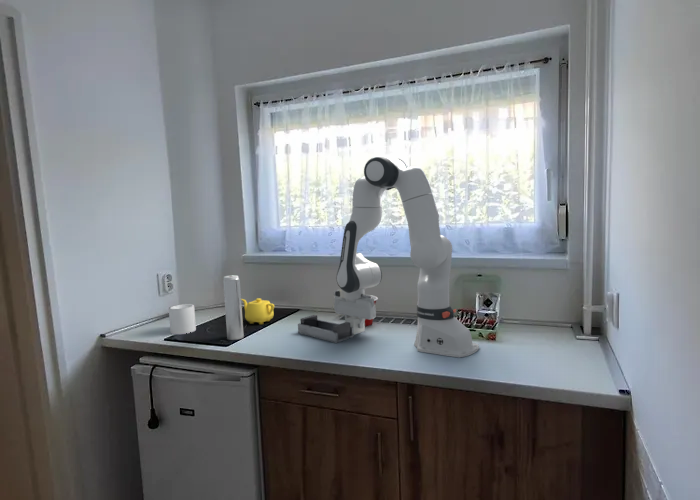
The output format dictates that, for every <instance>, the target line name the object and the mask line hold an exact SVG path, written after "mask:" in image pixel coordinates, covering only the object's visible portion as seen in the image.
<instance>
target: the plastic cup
mask: <svg viewBox="0 0 700 500" xmlns="http://www.w3.org/2000/svg"><path fill="white" fill-rule="evenodd" d="M369 295H370V296H371V297H372V298H373V299H374V304H375V305H376V303H377V301H378V299H379V298H378V297H377V296H375V295H371V294H369ZM373 322H374V318H373V319H370V320H369V319H365V327H367V326H368V327H369V326H373Z"/></svg>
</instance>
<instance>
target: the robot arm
mask: <svg viewBox="0 0 700 500" xmlns="http://www.w3.org/2000/svg"><path fill="white" fill-rule="evenodd" d="M393 189H396V190H397V191H398V193H399V196H400V199H401V203H402V207H403V211H404V215H405V218H406V223H407V227H408V236H409V237H408V238H409V244H410V245H409V246H410V252H409V253H410V255H409V257H410V260H411V262H412V264H414V266H415V267H416V268H418V269H419V275H418V280H417V287H416V288H417V305H416V317H417V327H416V329H417V330H416V334H415V335H416V336H415V340H414V344H413V345H414V347H416V348H417V349H416V350H417V351H418V352H419V353H420V352H421V353H427V354H433V355H434V354H435V355H439V356H447V357H453V358H464V357H468V356H471V355H473V354H475V353H476V352H478V351H479V350H480V345H479V344H478V343H477V342H476V343H475V342H473V338H472V334H471V331H470V329H469V328H468V327H466V326H465V325H464V324H463V323H462V322H461V321H460V320H459V319H457V318H456V317H455V314H454V313H457V308H455V309H453V308H452V305H450V277H451V272H452V271H451V269H452V257H453V255H452V254H453V245H452V242H451V240H450V239H448V238H447V237H446V236H445V235H443V234H441V229H440V228H441V227H440V219H439V218H440V216H439V215H440V214H439V211H438V208H437V207H438V206H437V205H436V204H437V203H436V200H435V196H434V193H433V190H432V187H431V185H430V181H429V179H428V177H427V174H426V173H425V171H424V170H423V169H422V168H421V167H418V166H410V167H408V165H407V162H404V160H402V159H400V158H397V157H393V156H389V155H377V156H373V157H371V158H369V159H368V160H367V161H366V163H365V165H364V167H363V176H361V177H359V178H357V180H356V181H355V182H354V186H353V192H352V201H351V202H352V206H351V207H352V209H351V215H350V218H349V221H348V222H347V223H346V225H345V227H344V230H343V236H342V244H341V250H340V251H341V252H340V257H339V266H338V269H337V272H336V277H335V279H336V284H337V286H338V287H339V289H337V290H334V291H333V297H334V298H333V309H334V310H333V311H334V312H335V313H336V314H339V315H344V319H345V318H348V317H351V316H354V317H359V320H360V323H359V324H358V328H363V323H364V321H365V319H369V320H370V319H373V320H374V319H375V318H376V316H377V309H376V304H374V299H373V298H372V297H371V296H370V295H371V294H366V292H365V291H366V289H368V288H373V287H376V286H379V285H380V284H381V283H382V279H383V272H382V268H381V267H380V265H379V264H378V263H376V262H373V261H371V260H368V259H367V258H366V257H365V256H364V255H363V254H362V253H361V252H357V251H358V244H359V242H360V240H361V239H362V238H363V237H364V236H366V235H367V234H369V232H372V231H374V230H375V229H376V228H377V227H378V226H379V225H380V223H381V222H382V216H383V199H382V198H383V194H384V192H385V191H389V190H393Z"/></svg>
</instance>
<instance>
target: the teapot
mask: <svg viewBox="0 0 700 500" xmlns="http://www.w3.org/2000/svg"><path fill="white" fill-rule="evenodd" d="M241 302H243V307H244V318H245V320H246V321H247V322H249V324H255V323H258V325H264V322H265V323H266V322H270V321H271V320H272V319H273V318H274V314H275V313H274V309H275V304H274V303H271V302H270V300H264V299H262V298H259V297H257V298H255V299H254V300H252V301H249V302H247V300H246V299H245V298H241Z"/></svg>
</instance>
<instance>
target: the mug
mask: <svg viewBox="0 0 700 500" xmlns="http://www.w3.org/2000/svg"><path fill="white" fill-rule="evenodd" d="M195 311H196V310H195V305H194V304H192V303H181V304H176V305H172V306H170V307H168V316H169V328H170V329H169V330H170V334H172V335H186V333H187V334H190V332H191V333H194V332H195V331H196V330H197V323H196V312H195Z"/></svg>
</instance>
